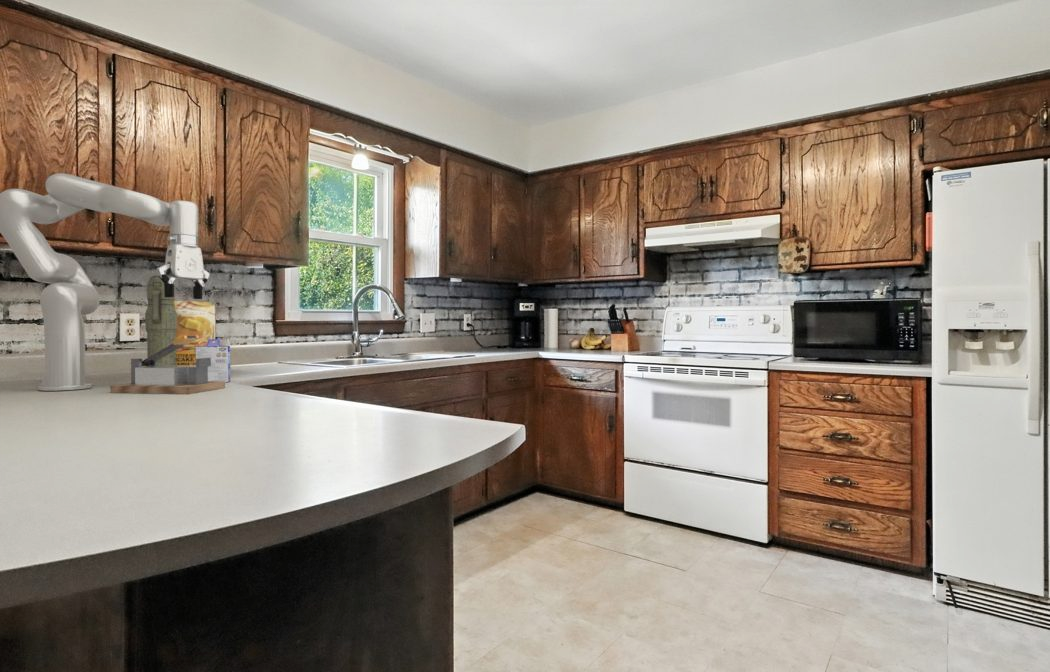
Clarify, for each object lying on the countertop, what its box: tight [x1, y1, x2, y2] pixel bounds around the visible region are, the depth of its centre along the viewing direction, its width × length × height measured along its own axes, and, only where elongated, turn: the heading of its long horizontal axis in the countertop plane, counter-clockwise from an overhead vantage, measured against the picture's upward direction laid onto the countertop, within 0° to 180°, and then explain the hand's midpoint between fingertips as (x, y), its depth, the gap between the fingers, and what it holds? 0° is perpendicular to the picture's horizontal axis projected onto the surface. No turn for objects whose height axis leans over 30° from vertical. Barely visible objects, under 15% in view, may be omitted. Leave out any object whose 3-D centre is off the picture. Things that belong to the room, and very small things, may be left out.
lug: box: [188, 358, 211, 385], centre depth 171 cm, size 3×5×8 cm
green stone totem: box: [144, 275, 177, 367], centre depth 192 cm, size 9×12×35 cm
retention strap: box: [142, 335, 199, 367], centre depth 172 cm, size 18×6×1 cm, turn 82°
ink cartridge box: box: [196, 338, 232, 383], centre depth 196 cm, size 10×6×14 cm, turn 110°
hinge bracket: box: [130, 357, 158, 384], centre depth 173 cm, size 2×7×7 cm, turn 173°
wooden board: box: [109, 381, 226, 395], centre depth 172 cm, size 24×16×2 cm, turn 83°
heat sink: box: [135, 365, 196, 386], centre depth 172 cm, size 12×12×5 cm
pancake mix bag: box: [174, 299, 217, 365], centre depth 206 cm, size 7×19×28 cm, turn 118°
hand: (183, 298), depth 180 cm, fingers open, 9 cm apart
